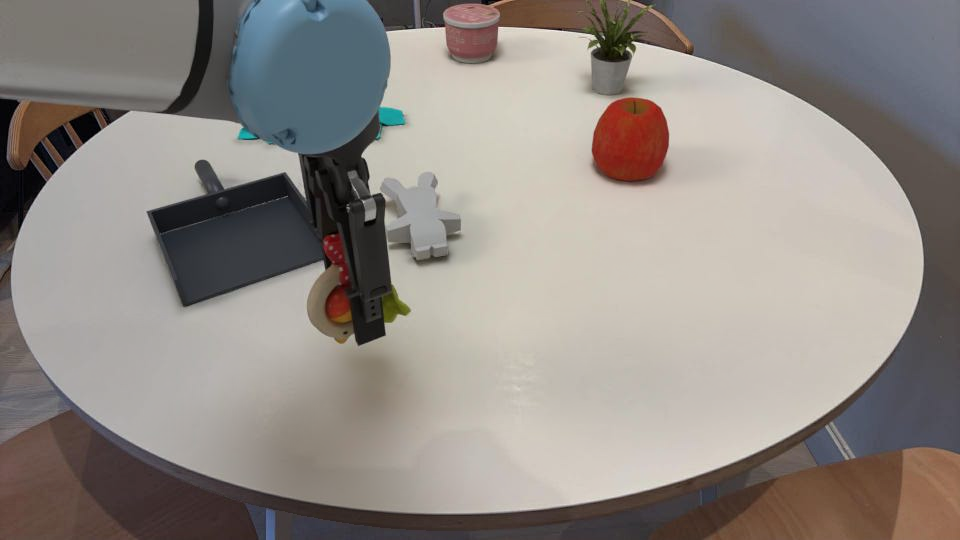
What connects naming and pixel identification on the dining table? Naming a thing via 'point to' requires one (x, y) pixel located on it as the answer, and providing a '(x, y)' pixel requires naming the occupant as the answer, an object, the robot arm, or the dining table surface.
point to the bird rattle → (341, 297)
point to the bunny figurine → (420, 217)
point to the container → (471, 32)
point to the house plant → (611, 49)
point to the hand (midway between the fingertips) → (357, 318)
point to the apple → (631, 139)
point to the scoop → (234, 235)
